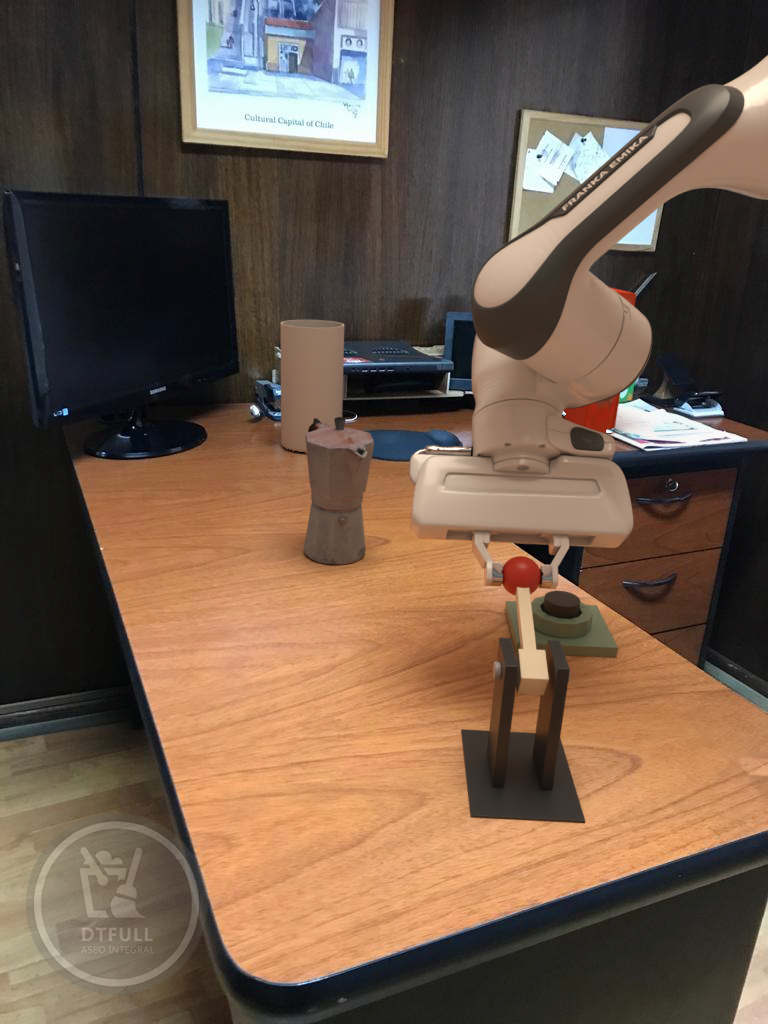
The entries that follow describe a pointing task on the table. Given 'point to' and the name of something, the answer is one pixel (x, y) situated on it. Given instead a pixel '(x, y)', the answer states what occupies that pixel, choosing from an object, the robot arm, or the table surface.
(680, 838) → the table surface
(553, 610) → the button
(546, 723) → the switch base
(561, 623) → the block
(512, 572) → the lever
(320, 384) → the cylinder vase
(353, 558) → the moka pot
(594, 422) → the file binder
